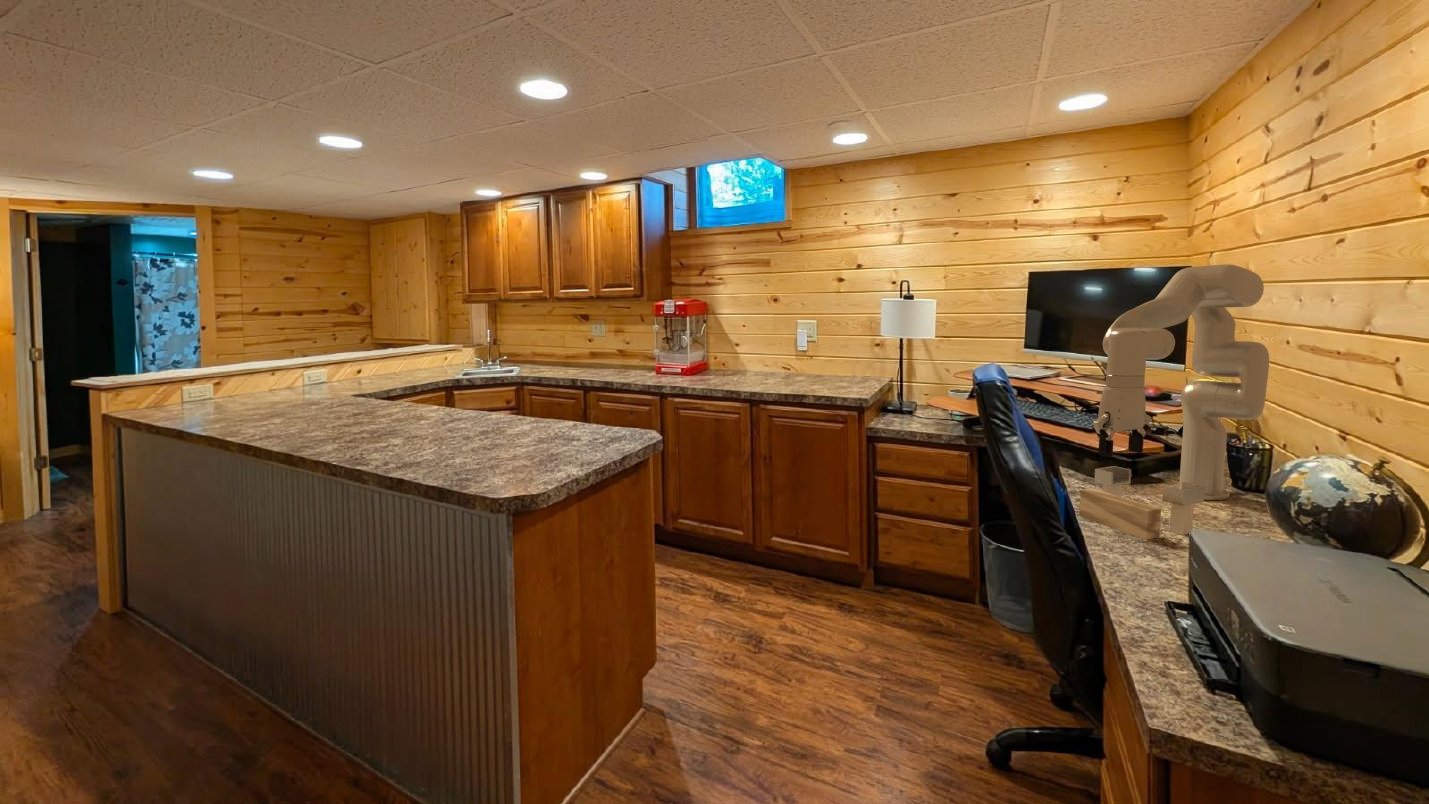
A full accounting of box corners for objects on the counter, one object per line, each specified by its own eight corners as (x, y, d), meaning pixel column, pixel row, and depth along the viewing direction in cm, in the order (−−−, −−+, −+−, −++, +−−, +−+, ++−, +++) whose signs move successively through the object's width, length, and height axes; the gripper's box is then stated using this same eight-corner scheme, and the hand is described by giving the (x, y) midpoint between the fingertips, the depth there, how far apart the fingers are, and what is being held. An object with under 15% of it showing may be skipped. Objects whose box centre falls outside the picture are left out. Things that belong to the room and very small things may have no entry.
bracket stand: (1112, 506, 164) (1114, 465, 162) (1201, 532, 143) (1204, 486, 141) (1093, 509, 162) (1095, 468, 160) (1180, 537, 141) (1184, 490, 139)
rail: (1091, 514, 158) (1092, 488, 158) (1159, 538, 141) (1161, 508, 140) (1079, 516, 157) (1080, 490, 156) (1145, 540, 140) (1147, 510, 139)
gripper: (1136, 379, 151) (1131, 447, 153) (1083, 383, 145) (1079, 454, 147) (1167, 381, 144) (1162, 453, 146) (1112, 386, 138) (1108, 460, 140)
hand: (1120, 453), depth 147 cm, fingers open, 9 cm apart
